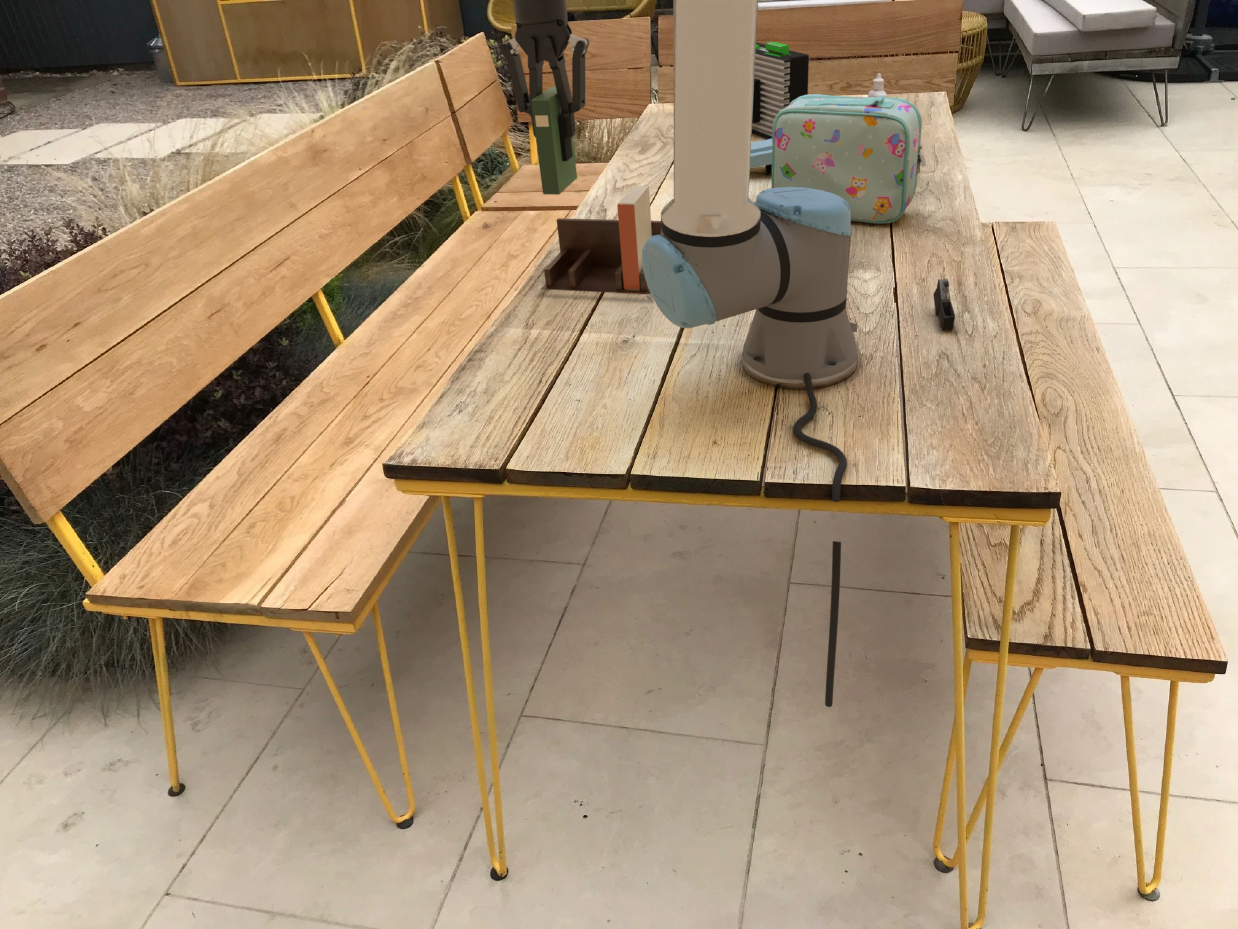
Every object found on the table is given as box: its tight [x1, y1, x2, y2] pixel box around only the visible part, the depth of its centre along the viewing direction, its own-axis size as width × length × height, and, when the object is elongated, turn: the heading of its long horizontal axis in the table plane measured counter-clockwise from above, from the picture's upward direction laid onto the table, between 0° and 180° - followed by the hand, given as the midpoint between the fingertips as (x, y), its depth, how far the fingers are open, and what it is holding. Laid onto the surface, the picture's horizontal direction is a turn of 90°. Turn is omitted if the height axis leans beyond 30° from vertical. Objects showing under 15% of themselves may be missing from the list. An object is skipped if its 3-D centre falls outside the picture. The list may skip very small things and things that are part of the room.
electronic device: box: [751, 41, 810, 140], centre depth 224 cm, size 28×11×20 cm, turn 25°
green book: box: [531, 86, 578, 196], centre depth 146 cm, size 9×3×14 cm, turn 163°
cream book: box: [616, 185, 652, 290], centre depth 151 cm, size 9×3×14 cm, turn 163°
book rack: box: [540, 217, 661, 295], centre depth 154 cm, size 11×18×9 cm, turn 73°
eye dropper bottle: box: [867, 72, 888, 97], centre depth 220 cm, size 4×6×12 cm
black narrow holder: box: [932, 278, 956, 331], centre depth 135 cm, size 8×2×5 cm
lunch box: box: [771, 93, 927, 224], centre depth 170 cm, size 27×10×21 cm, turn 59°
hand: (557, 158), depth 147 cm, fingers closed on green book, 3 cm apart
